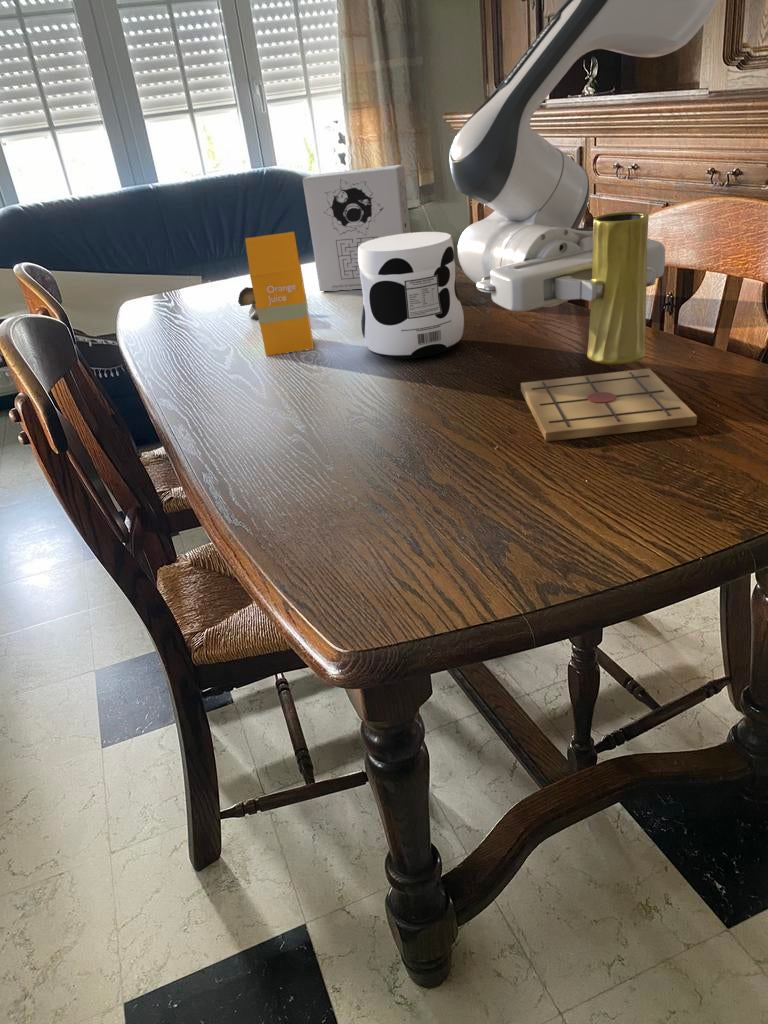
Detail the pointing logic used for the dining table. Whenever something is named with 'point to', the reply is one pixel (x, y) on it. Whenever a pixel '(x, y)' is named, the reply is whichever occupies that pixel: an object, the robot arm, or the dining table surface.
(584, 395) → the board
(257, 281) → the orange juice
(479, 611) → the dining table surface
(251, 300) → the eagle figurine
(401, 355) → the milk container
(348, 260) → the cereal box
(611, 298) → the vase
